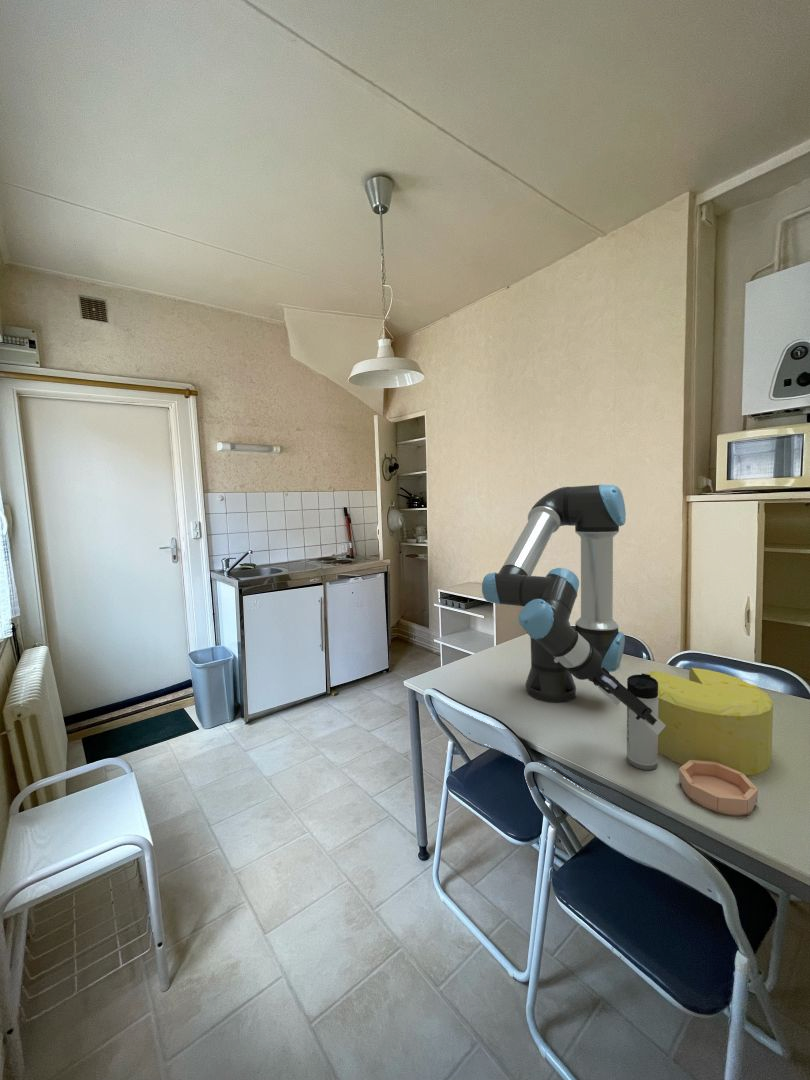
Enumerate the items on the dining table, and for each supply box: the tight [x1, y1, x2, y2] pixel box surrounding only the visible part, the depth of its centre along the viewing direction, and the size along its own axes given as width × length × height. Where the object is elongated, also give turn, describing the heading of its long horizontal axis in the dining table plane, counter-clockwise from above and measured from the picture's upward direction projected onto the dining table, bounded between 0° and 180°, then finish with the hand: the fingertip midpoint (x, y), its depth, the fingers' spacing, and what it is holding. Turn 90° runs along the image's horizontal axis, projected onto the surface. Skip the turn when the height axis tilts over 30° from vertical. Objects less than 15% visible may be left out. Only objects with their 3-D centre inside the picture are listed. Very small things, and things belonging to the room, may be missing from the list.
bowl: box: [678, 760, 759, 817], centre depth 87 cm, size 12×12×3 cm
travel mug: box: [626, 672, 659, 771], centre depth 98 cm, size 6×7×20 cm
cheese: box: [646, 667, 774, 777], centre depth 105 cm, size 26×26×15 cm
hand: (639, 714), depth 97 cm, fingers open, 13 cm apart
